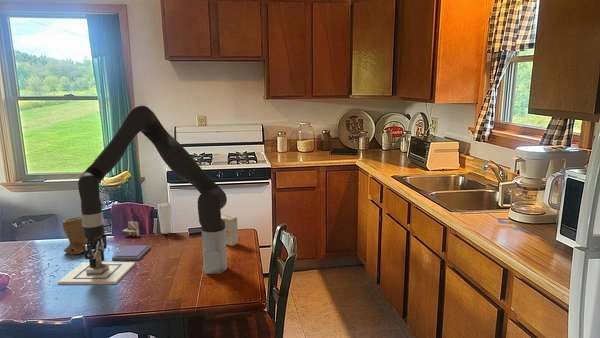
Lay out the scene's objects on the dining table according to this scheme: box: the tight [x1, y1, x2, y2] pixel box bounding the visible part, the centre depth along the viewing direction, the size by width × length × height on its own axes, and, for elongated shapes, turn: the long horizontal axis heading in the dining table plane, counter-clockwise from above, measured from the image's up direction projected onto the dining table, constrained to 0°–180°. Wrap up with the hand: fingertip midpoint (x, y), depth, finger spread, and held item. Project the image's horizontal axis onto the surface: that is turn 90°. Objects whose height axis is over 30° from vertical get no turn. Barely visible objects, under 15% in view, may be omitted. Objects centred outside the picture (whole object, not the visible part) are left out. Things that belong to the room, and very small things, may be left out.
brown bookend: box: [62, 215, 87, 255], centre depth 191 cm, size 15×12×15 cm
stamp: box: [86, 251, 109, 275], centre depth 165 cm, size 6×6×8 cm
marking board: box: [57, 261, 136, 285], centre depth 166 cm, size 18×22×1 cm
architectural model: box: [122, 221, 140, 238], centre depth 209 cm, size 3×7×7 cm, turn 77°
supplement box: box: [221, 214, 239, 247], centre depth 197 cm, size 8×5×13 cm, turn 58°
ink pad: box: [111, 245, 152, 261], centre depth 186 cm, size 14×12×2 cm
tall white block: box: [157, 201, 173, 235], centre depth 213 cm, size 7×7×15 cm
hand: (97, 264), depth 166 cm, fingers open, 6 cm apart
